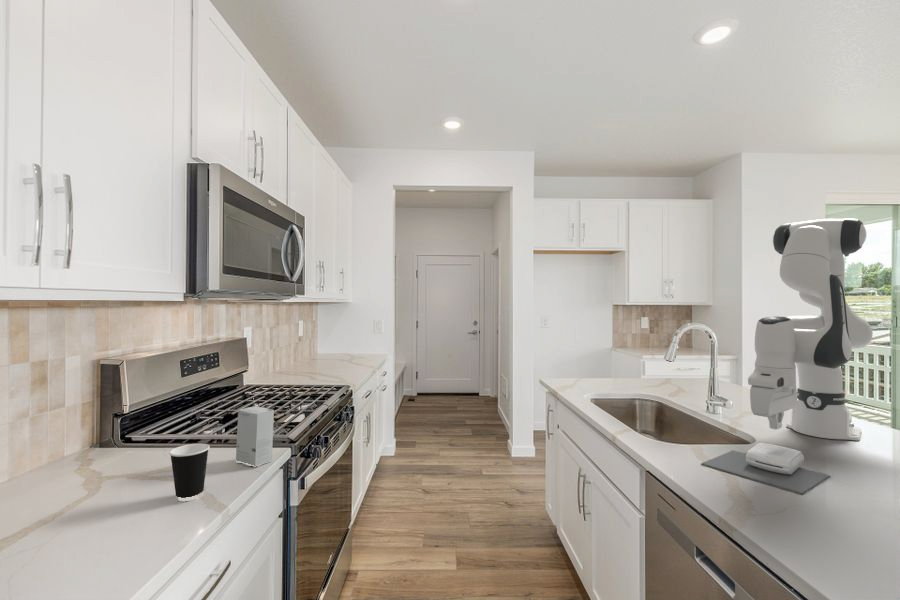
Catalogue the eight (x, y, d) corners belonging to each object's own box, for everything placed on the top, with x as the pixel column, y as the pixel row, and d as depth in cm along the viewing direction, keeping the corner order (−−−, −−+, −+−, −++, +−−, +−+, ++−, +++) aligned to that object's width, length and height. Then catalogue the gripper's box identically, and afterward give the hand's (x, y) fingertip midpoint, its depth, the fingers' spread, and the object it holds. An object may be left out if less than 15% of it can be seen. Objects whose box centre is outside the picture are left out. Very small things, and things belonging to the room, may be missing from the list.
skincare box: (235, 463, 118) (235, 409, 118) (254, 456, 124) (254, 405, 124) (256, 468, 114) (256, 413, 114) (274, 461, 120) (274, 408, 120)
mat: (733, 451, 125) (733, 450, 125) (830, 476, 107) (830, 475, 107) (701, 464, 115) (701, 463, 115) (802, 494, 97) (802, 493, 97)
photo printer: (757, 455, 120) (742, 466, 112) (757, 440, 120) (742, 450, 112) (804, 466, 112) (791, 479, 104) (804, 450, 112) (791, 462, 104)
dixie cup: (160, 502, 95) (160, 452, 95) (193, 487, 103) (193, 441, 103) (186, 507, 92) (186, 456, 93) (217, 492, 100) (217, 445, 100)
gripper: (777, 371, 124) (777, 419, 124) (744, 378, 113) (745, 431, 113) (804, 374, 119) (804, 424, 118) (773, 382, 107) (773, 437, 107)
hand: (775, 428), depth 115 cm, fingers closed
